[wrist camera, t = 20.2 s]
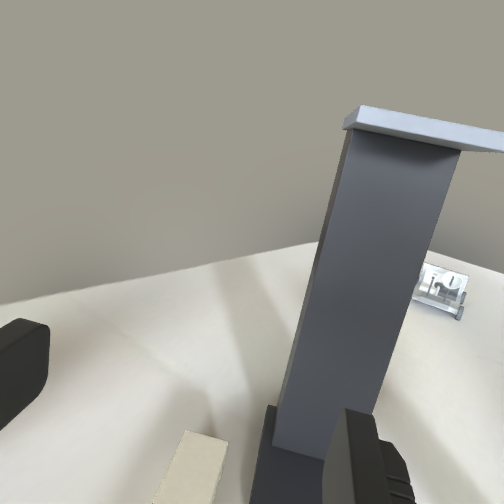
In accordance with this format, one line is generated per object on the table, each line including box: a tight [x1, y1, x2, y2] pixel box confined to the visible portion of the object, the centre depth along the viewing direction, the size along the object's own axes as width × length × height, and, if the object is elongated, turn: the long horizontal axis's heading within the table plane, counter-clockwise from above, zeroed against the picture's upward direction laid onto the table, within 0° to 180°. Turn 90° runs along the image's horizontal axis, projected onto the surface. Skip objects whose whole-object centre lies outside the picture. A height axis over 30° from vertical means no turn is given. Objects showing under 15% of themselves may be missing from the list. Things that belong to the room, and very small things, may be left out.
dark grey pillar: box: [249, 105, 504, 504], centre depth 33 cm, size 10×13×32 cm
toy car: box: [411, 262, 469, 320], centre depth 90 cm, size 18×10×12 cm
